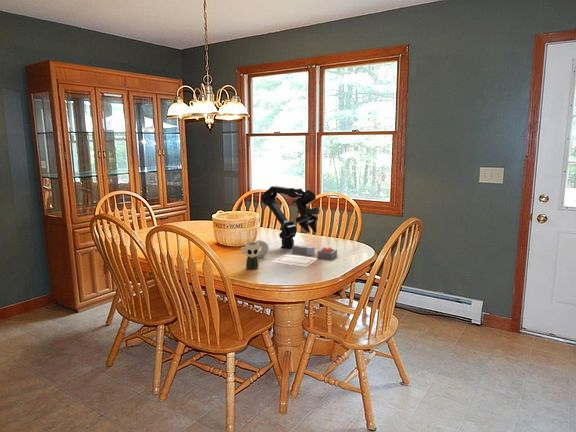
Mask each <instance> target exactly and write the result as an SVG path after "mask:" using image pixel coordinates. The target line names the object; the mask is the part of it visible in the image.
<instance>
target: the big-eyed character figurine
mask: <svg viewBox="0 0 576 432" xmlns="http://www.w3.org/2000/svg"><path fill="white" fill-rule="evenodd" d="M240 252H241V254H244V255H245V256H246V257H247V258H246V261H245V262H246V264H245V266H246V269H250V270H253V269H258V268H259V262H258V261H259V260H258V259H259V258H257V257H256V256H258V255H259V253H262V252H263V247H262V246H259V243H258V242H255V241H248V242H245V243H244V246H242V247H241V248H240Z"/></svg>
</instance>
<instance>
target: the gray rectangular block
mask: <svg viewBox="0 0 576 432" xmlns="http://www.w3.org/2000/svg"><path fill="white" fill-rule="evenodd" d="M315 252H316V250H315V246H304V245H297V244H296V245H295V244H294V246H293V248H292V253H293V254H298V255H299V254H301V255H307V256H313V255H315Z"/></svg>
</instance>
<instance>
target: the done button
mask: <svg viewBox="0 0 576 432" xmlns="http://www.w3.org/2000/svg"><path fill="white" fill-rule="evenodd" d="M322 248H323V252H330V253H331V252H332V249H333V247H330V246H324V247H322Z"/></svg>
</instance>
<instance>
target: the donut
mask: <svg viewBox="0 0 576 432" xmlns="http://www.w3.org/2000/svg"><path fill="white" fill-rule="evenodd" d="M254 242H258V243H259V246H262V247H263V252H262V253H259V255H258V256H256V257H257V259H261V258H264V257H265V256H267V254H268V252H269V245H268V244H267V242H266V241H264V240H263V239H262V240H259V239H258V240H255V241H254Z"/></svg>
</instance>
